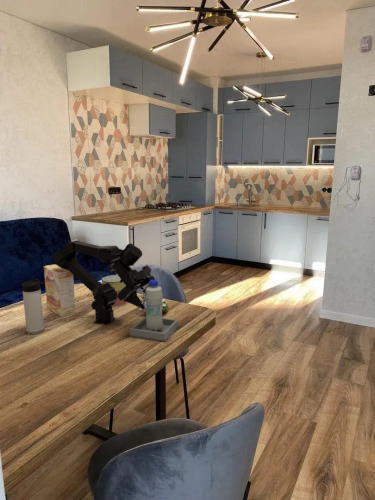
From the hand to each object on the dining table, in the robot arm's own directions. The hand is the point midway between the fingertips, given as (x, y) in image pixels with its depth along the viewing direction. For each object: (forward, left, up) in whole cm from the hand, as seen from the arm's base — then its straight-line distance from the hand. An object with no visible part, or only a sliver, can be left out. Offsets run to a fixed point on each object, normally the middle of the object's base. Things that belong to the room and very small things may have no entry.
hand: (150, 304), depth 143 cm
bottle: (+1, 0, -10) cm, 10 cm away
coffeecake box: (-47, +8, -11) cm, 49 cm away
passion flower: (-7, +18, -11) cm, 22 cm away
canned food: (-29, +24, -11) cm, 39 cm away
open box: (+2, 0, -11) cm, 11 cm away
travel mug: (-42, -14, -11) cm, 46 cm away
